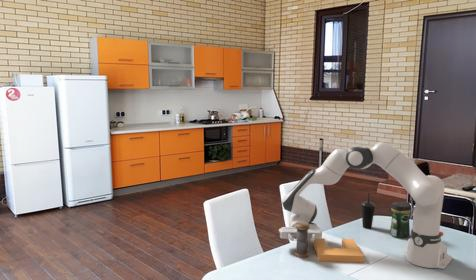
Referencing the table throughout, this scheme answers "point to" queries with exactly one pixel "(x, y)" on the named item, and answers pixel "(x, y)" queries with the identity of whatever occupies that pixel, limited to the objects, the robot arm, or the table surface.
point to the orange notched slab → (338, 251)
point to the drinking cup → (367, 213)
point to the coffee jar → (400, 219)
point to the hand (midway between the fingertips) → (302, 239)
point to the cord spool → (302, 240)
